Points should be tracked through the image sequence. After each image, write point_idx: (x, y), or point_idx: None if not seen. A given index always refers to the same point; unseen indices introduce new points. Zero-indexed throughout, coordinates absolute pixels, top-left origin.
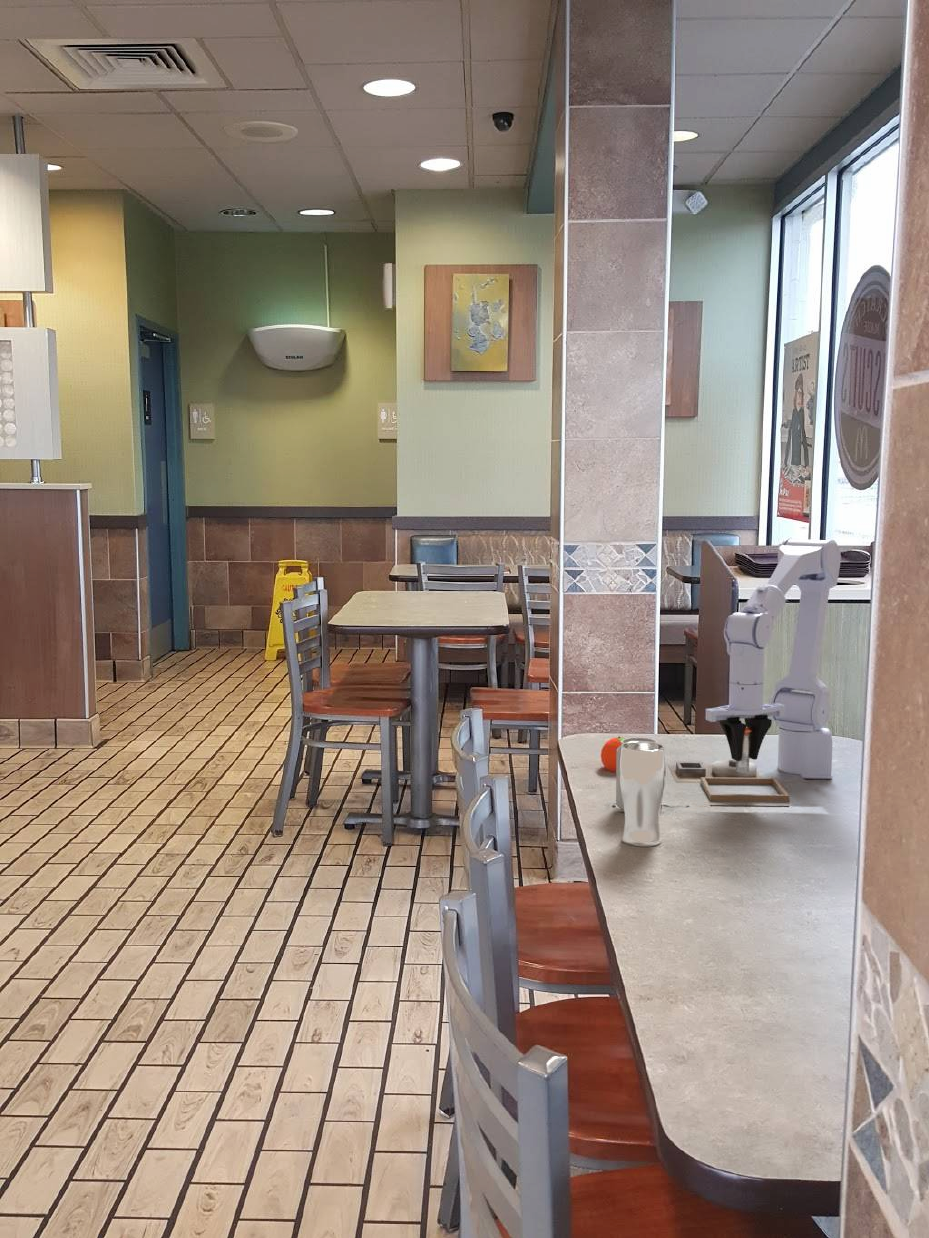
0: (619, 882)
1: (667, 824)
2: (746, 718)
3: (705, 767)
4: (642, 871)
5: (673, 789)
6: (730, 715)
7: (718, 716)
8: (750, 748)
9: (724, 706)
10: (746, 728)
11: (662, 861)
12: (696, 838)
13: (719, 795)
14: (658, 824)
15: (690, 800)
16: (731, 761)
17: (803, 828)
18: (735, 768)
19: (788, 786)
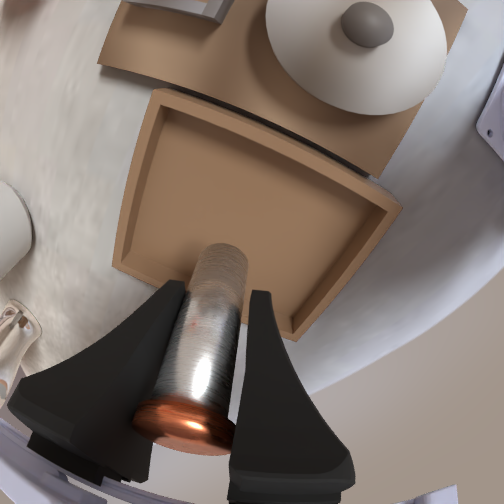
0: (25, 363)
1: (45, 292)
2: (232, 473)
3: None
4: (35, 362)
5: (94, 82)
6: (63, 479)
7: (10, 444)
8: (247, 340)
9: (9, 492)
10: (184, 445)
11: (46, 360)
12: (76, 344)
13: (131, 275)
14: (28, 347)
15: (97, 191)
16: (351, 21)
17: (234, 385)
18: (337, 65)
19: (438, 192)
